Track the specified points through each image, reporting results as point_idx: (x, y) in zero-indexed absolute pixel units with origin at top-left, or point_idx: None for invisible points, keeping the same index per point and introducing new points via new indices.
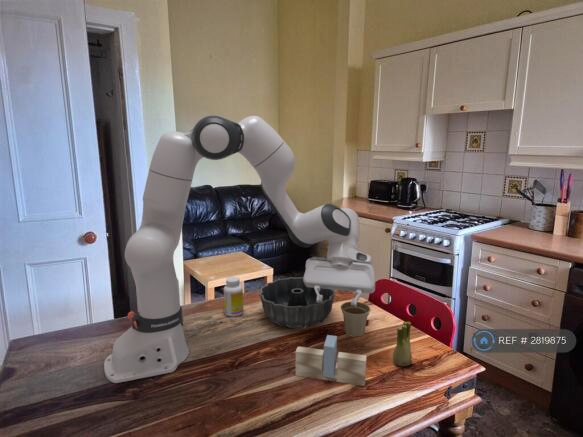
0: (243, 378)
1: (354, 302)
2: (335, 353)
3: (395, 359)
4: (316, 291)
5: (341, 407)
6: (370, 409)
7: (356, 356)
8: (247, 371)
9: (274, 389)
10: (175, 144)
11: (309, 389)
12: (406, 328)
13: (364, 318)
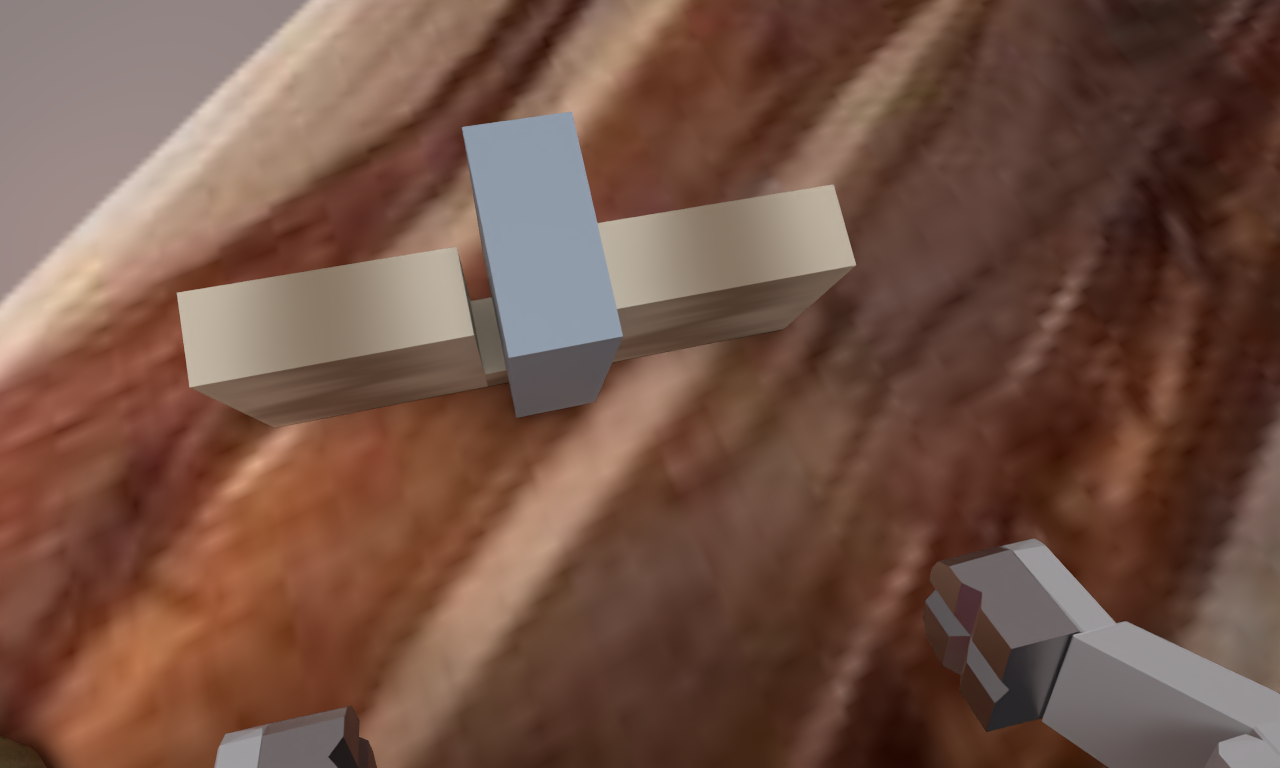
0: (1038, 109)
1: (261, 752)
2: (494, 298)
3: (4, 743)
4: (1194, 667)
5: (365, 91)
6: (178, 141)
7: (285, 330)
8: (1063, 179)
9: (815, 88)
10: None
11: (618, 170)
12: None
13: None
